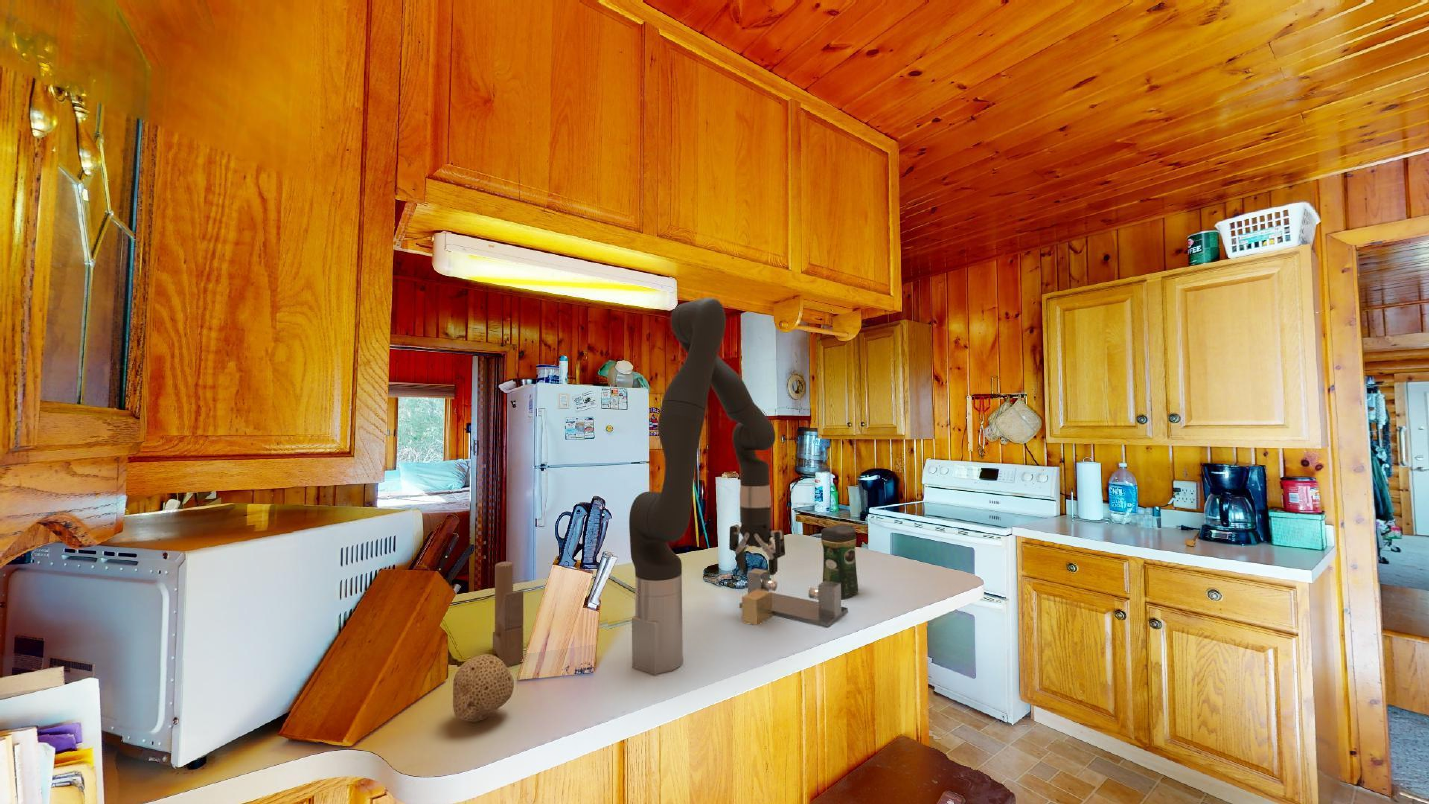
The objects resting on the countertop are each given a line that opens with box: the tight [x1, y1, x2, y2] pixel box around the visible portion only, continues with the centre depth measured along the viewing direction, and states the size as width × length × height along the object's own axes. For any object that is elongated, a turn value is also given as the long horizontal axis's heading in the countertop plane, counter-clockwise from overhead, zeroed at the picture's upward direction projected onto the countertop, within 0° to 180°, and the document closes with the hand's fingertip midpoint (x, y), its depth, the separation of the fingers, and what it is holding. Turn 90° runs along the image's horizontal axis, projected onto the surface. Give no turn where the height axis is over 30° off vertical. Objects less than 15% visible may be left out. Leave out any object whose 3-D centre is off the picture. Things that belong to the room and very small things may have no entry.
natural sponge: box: [452, 653, 515, 723], centre depth 85 cm, size 9×9×10 cm
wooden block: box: [492, 561, 524, 668], centre depth 109 cm, size 4×11×18 cm, turn 35°
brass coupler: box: [741, 589, 773, 627], centre depth 127 cm, size 4×7×6 cm, turn 144°
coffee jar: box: [820, 523, 859, 599], centre depth 145 cm, size 10×8×19 cm
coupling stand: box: [739, 568, 849, 628], centre depth 133 cm, size 12×24×8 cm, turn 54°
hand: (757, 571), depth 127 cm, fingers open, 8 cm apart
